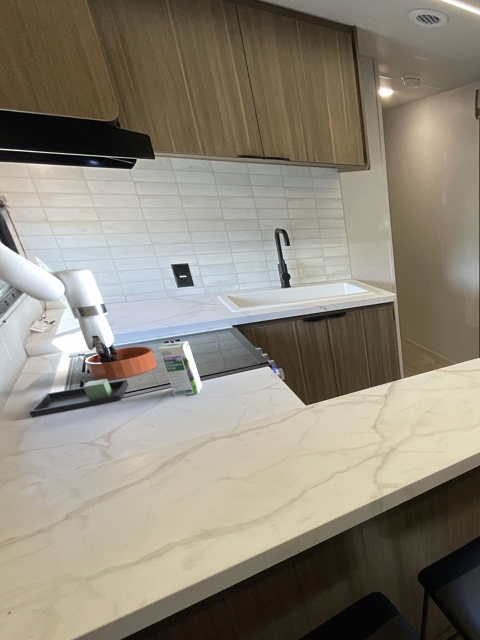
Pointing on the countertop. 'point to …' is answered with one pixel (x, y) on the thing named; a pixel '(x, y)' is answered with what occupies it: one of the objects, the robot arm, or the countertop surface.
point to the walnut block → (115, 357)
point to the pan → (75, 399)
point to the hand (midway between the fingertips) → (112, 366)
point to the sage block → (97, 389)
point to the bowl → (123, 364)
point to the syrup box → (180, 368)
